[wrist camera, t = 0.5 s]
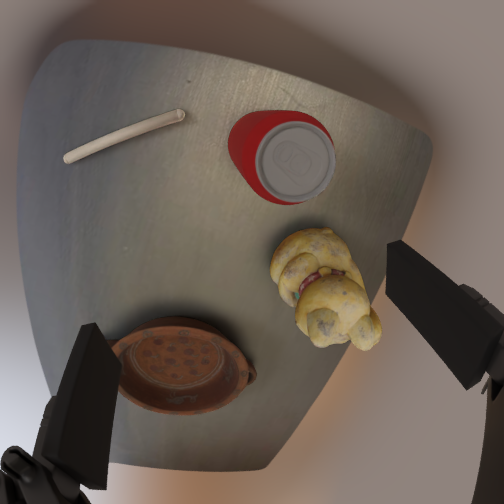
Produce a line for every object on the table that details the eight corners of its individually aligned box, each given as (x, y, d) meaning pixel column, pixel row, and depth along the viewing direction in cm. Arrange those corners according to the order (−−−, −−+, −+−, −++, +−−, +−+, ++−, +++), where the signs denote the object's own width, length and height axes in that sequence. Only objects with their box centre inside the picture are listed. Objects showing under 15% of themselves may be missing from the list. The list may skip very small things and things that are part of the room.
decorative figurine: (256, 276, 36) (291, 371, 23) (274, 210, 33) (328, 283, 19) (329, 284, 38) (385, 366, 25) (350, 225, 35) (426, 292, 22)
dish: (98, 285, 33) (87, 310, 28) (273, 313, 39) (283, 339, 34) (101, 379, 39) (96, 404, 35) (239, 396, 45) (244, 421, 41)
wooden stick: (64, 154, 26) (60, 155, 25) (183, 107, 26) (182, 107, 25) (68, 164, 26) (63, 166, 25) (186, 118, 27) (186, 118, 26)
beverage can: (269, 187, 31) (307, 230, 21) (213, 153, 29) (223, 179, 18) (305, 135, 30) (363, 151, 19) (251, 97, 27) (285, 89, 16)
